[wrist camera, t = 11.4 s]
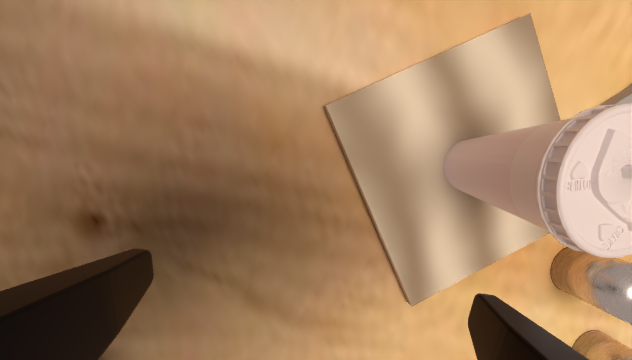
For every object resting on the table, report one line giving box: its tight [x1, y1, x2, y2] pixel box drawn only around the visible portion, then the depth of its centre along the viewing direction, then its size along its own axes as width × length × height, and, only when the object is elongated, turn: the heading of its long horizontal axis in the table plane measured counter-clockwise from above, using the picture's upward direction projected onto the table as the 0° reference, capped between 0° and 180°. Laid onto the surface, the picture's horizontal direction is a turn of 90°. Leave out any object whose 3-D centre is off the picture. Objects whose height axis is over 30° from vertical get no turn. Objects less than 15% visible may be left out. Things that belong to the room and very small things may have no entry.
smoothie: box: [444, 103, 632, 258], centre depth 14 cm, size 6×6×14 cm
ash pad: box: [324, 13, 561, 306], centre depth 22 cm, size 16×16×1 cm
